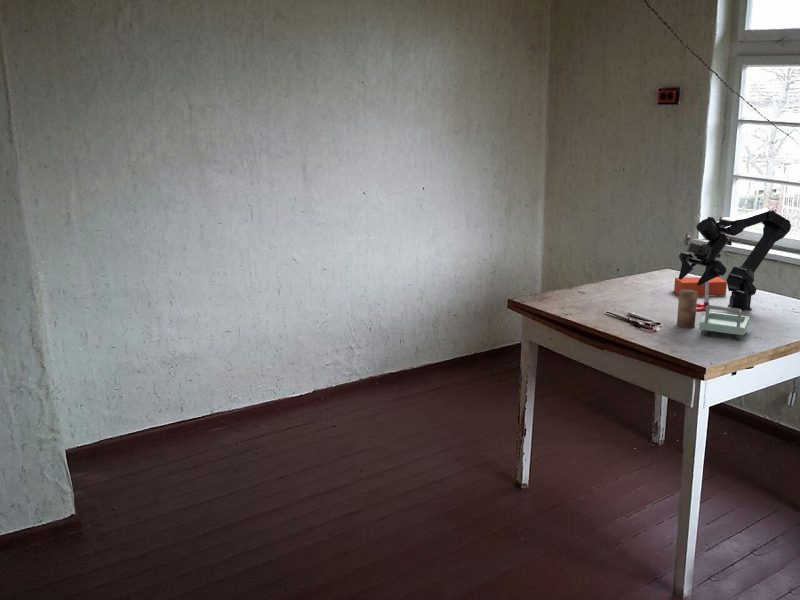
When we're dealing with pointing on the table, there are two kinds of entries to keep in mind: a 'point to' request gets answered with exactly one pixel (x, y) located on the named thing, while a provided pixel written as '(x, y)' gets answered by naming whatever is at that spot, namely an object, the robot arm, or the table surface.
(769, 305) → the table surface
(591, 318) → the table surface
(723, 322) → the parts cart
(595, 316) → the table surface
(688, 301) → the brown cylinder
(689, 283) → the brick
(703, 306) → the tow hook
